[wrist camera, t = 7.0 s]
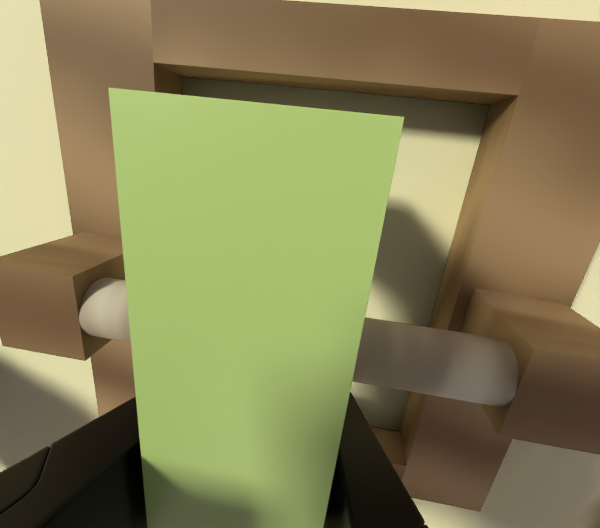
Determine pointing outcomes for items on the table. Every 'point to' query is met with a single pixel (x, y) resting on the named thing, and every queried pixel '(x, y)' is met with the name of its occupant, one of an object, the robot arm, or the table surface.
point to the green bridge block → (245, 296)
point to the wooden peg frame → (467, 239)
